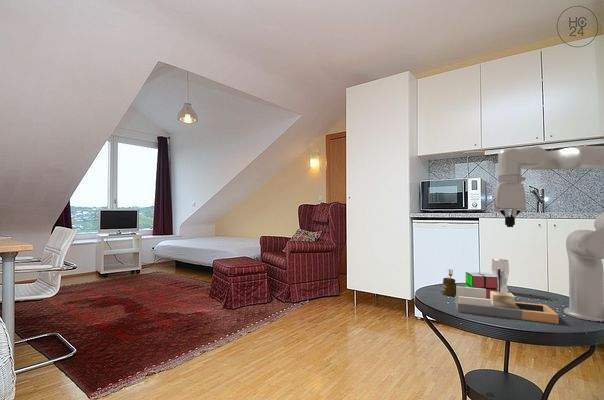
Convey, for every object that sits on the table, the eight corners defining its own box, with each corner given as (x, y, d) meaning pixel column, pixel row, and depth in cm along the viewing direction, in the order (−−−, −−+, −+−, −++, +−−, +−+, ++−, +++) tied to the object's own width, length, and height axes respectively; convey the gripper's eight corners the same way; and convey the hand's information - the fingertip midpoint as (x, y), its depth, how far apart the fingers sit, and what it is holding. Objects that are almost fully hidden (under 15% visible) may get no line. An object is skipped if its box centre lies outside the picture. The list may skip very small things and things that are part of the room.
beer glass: (492, 288, 154) (492, 258, 154) (509, 291, 149) (509, 259, 150) (491, 291, 148) (491, 260, 148) (508, 294, 144) (508, 261, 144)
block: (511, 303, 119) (511, 292, 119) (515, 307, 114) (515, 296, 114) (490, 301, 122) (490, 290, 122) (493, 305, 116) (492, 294, 117)
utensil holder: (454, 293, 145) (454, 267, 145) (458, 296, 139) (458, 269, 139) (440, 292, 146) (440, 266, 147) (444, 295, 140) (443, 269, 140)
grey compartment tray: (546, 312, 118) (545, 294, 118) (558, 323, 106) (558, 303, 107) (455, 302, 130) (455, 285, 130) (457, 311, 118) (457, 293, 118)
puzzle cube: (498, 300, 134) (497, 277, 134) (472, 299, 136) (472, 276, 136) (489, 294, 143) (488, 272, 144) (465, 293, 145) (465, 271, 146)
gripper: (529, 180, 124) (529, 227, 123) (486, 181, 130) (486, 226, 129) (535, 179, 117) (535, 228, 116) (489, 180, 123) (489, 227, 122)
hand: (509, 227), depth 123 cm, fingers closed
